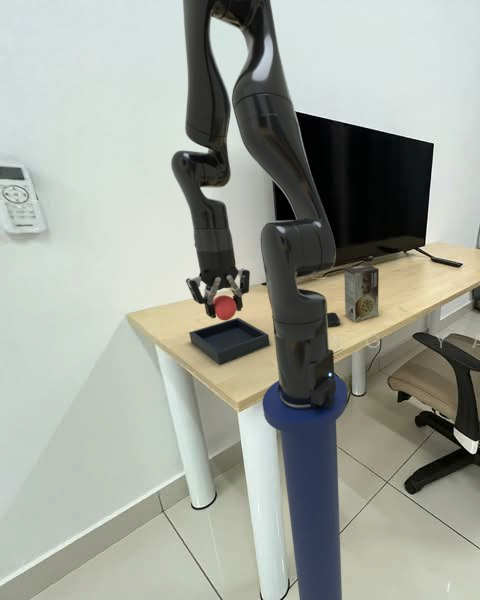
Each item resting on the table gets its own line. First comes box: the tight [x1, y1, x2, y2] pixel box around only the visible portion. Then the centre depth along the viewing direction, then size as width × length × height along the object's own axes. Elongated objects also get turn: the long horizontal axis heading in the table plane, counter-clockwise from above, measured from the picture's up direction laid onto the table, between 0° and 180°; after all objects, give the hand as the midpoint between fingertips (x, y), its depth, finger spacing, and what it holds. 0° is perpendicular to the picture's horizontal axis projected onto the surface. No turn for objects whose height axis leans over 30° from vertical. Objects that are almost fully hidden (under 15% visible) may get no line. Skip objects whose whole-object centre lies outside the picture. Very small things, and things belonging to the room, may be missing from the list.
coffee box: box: [343, 264, 380, 323], centre depth 99 cm, size 9×6×16 cm
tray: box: [188, 317, 271, 366], centre depth 80 cm, size 16×13×3 cm
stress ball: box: [213, 294, 237, 321], centre depth 78 cm, size 5×9×6 cm, turn 26°
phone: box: [327, 312, 341, 328], centre depth 94 cm, size 8×1×15 cm
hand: (225, 313), depth 78 cm, fingers closed on stress ball, 5 cm apart
